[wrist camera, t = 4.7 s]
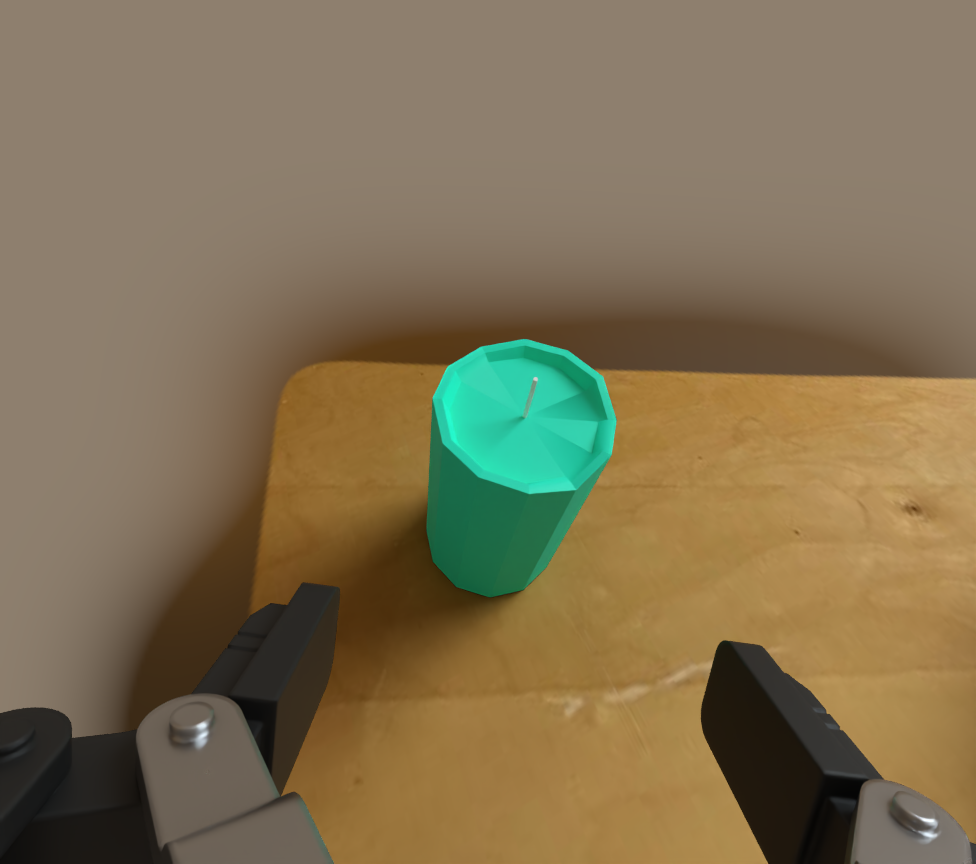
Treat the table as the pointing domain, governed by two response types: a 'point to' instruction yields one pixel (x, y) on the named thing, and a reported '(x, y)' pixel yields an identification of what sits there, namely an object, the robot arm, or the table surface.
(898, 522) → the table surface
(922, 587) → the table surface
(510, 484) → the candle
